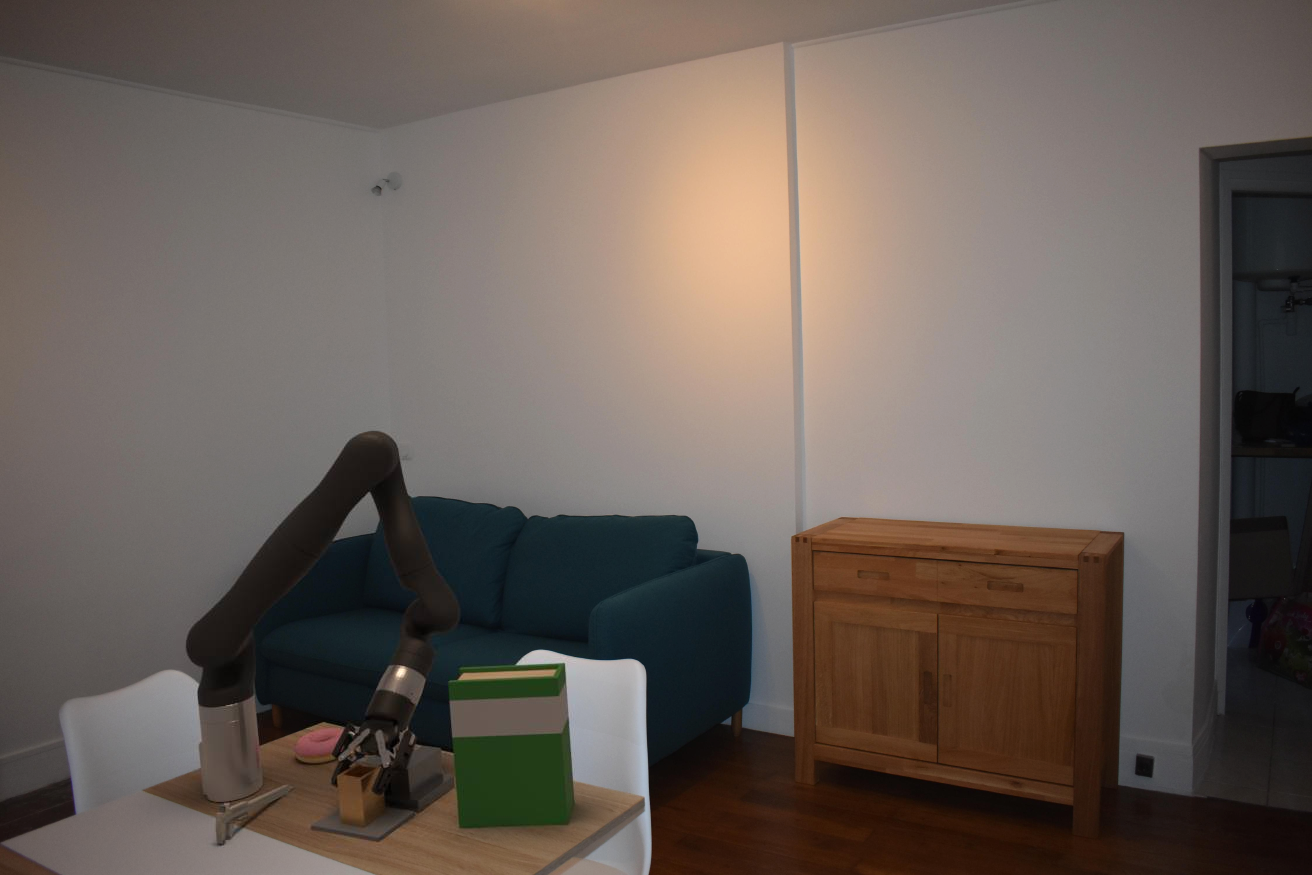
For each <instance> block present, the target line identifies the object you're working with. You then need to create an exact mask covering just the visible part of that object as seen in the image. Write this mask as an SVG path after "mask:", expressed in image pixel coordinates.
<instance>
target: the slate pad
mask: <svg viewBox="0 0 1312 875" xmlns="http://www.w3.org/2000/svg"><path fill="white" fill-rule="evenodd" d="M385 812H386V813H385V814H384V815H382V816H381V817H380V818H378V819H377V820H375V821H374V822H372V823H371V824H369V825H368V826H366V827H365V828H364V827H359V826H353V825H348V824H342V823H341V818H340V806H339V807H338V808H336V809H335V810H332V811H331V812H329V813H328V814H326V815H325V816H323V817H322V818H321V819H319V820H317V821H315V822H313V823H312V824H311V825H310V829H311V830H315V831H319V832H326V833H332V834H335V835H336V834H337V835H341V836H342V835H343V836H346V837H347V836H348V837H353V838H359V839H363V840H368V841H374V842H379V843H380V841H382V840H383V839H384V838H386V837H387V836H388V835H391V833H393V832H394V831H395V830H397V829H398V828H400V827H401V826H403V825H404V824H405V823H407V822H408V821H410V819H412V818H414V816H416V812H414V811H408V810H402V809H396V808H390V807H385Z"/></svg>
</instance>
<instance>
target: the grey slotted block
mask: <svg viewBox="0 0 1312 875" xmlns="http://www.w3.org/2000/svg"><path fill="white" fill-rule="evenodd" d="M407 730H409V726H408V727H407V729H406V730H404V731H403V732H405V731H407ZM399 745H400V742H399V743H398V744H397V745H396V746H395V753H397V750H398V748H399ZM358 763H359V764H366V765H373V766H380V767H382V768H383V764H382V758H381V757H378V756H376V755H372V756H370V757H369V758H364V757H363V758H361V759H358V760H357V761H355V762H354V764H355V765H356V764H358ZM355 765H354V766H355ZM455 787H456V782H455V775H453V774H446V773H444V772H443V759H442V749H441V747H437V746H436V747H435V746H429V745H428V746H427V745H421V746H420V747H418V748H417V749H414V750H413V752H412V755H411V758H410V761H409V763H408V766H407V769H406V770H405V771H401V770H399V771H396V772H395V773H393V775H392V777H391V779H390V782H389V784H388V787H387V789H386V790H385V792H384V800H385V807H390V808H396V809H402V810H408V811H414V812H415V813H420V812H422V811H423V810H424V809H425V808H427V807H429V806H430V805H431V804H433V803H434V802H436V800H438V799H440V798H441V797H442V796H444V795H445V794H446V793H448V792H449V791H451V790H452V789H453V788H455Z"/></svg>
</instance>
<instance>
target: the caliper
mask: <svg viewBox="0 0 1312 875" xmlns="http://www.w3.org/2000/svg"><path fill="white" fill-rule="evenodd" d="M294 788H295V787H294V786H293V785H291V784H284V785H282V786H279V787H277V788H275V789H273V790H270V791H268V792H266V793H263V794H261V795H260V796H258V797H255V798H253V799H251V800H248V801H246V800H245V801H241V802H239V803H236V804H234V805H231V802H224V803H223V804H219V805H218V806H219V807H218V812H217V813H216V817H215V836H216V837H215V839H216V843H217V845H225V841H231V839H232V838H233V834H234V829H235V825H236V821H237V822H238V821H239V822H240V821H241V822H242V821H243V820H244V819H245V820H246V819H248V817H249V813H251V812H252V811H254V810H257V809H259V808H261V807H263V806H265V805H267V804H270V803H271V802H274V801H276V800H277V799H280V798H282V797H285V796H286V795H287V794H288V793H289V792H290V791H291V790H293V789H294Z"/></svg>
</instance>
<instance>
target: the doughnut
mask: <svg viewBox="0 0 1312 875" xmlns="http://www.w3.org/2000/svg"><path fill="white" fill-rule="evenodd" d="M344 729H345V728H342V727H339V728H338V727H327V728H322V729H321V728H320V729H317V730H313V731H311V732H309V733H306V734H304V735H303V736H300V738H299V739H298V740H297V741H296V742H295V743H294V748H293V751H294V754H295V757H296V758H297V759H298V760H299V761H300V762H303V763H305V764H323V763H327V762H332V761H335V760H337V759H336V758H335V757H334V756H332V752H333V750H334V748H335V746H336V744H337V742H338V740H339V738H340V736H341V734H342V732H343V731H344ZM343 747H344V746H343ZM342 749H343V748H342ZM341 751H342V750H341Z"/></svg>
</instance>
